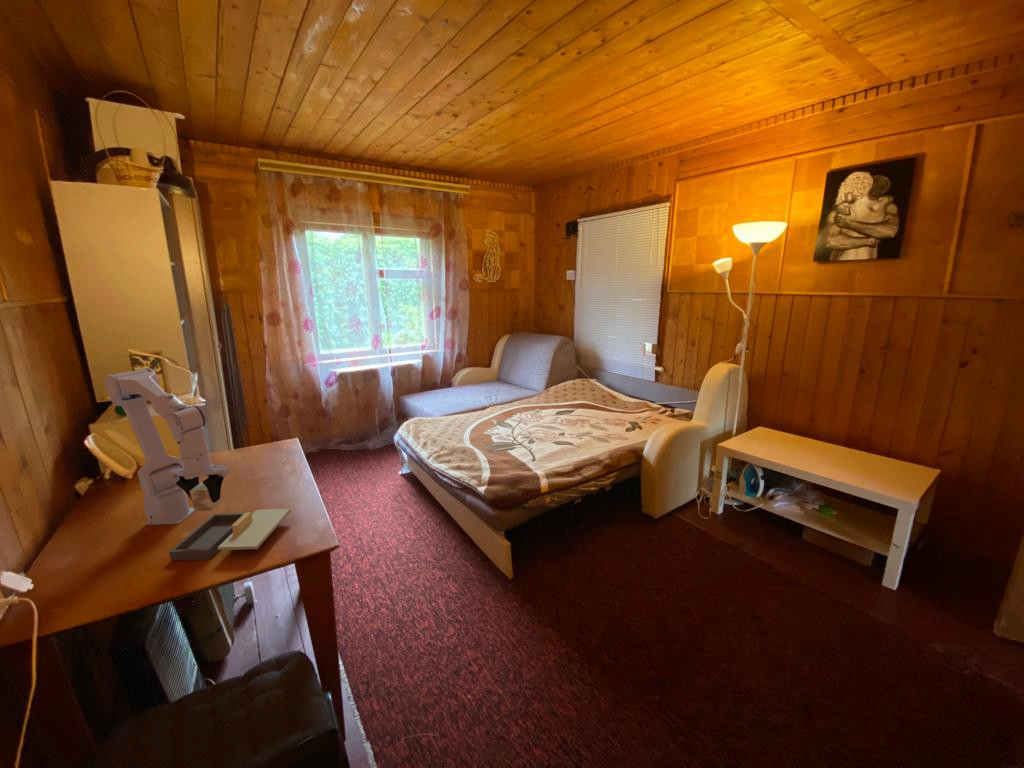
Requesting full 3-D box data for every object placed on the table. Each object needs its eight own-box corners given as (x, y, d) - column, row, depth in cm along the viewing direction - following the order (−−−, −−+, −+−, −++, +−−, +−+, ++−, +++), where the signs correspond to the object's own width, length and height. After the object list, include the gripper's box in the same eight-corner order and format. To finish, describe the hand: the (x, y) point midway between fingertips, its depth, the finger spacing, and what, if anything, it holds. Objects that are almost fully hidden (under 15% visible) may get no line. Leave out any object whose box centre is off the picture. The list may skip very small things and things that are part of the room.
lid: (218, 550, 104) (215, 538, 103) (257, 512, 120) (255, 501, 119) (257, 548, 104) (254, 537, 103) (290, 511, 120) (288, 500, 119)
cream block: (194, 511, 110) (189, 490, 108) (206, 502, 114) (201, 482, 113) (212, 510, 110) (206, 490, 108) (223, 501, 114) (218, 481, 113)
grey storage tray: (171, 560, 105) (168, 551, 104) (216, 521, 121) (214, 513, 120) (209, 559, 105) (207, 550, 104) (249, 520, 121) (247, 512, 120)
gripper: (153, 461, 104) (167, 510, 108) (212, 459, 104) (224, 508, 108) (175, 449, 111) (188, 495, 114) (230, 447, 111) (241, 493, 114)
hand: (206, 500), depth 111 cm, fingers closed on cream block, 4 cm apart
